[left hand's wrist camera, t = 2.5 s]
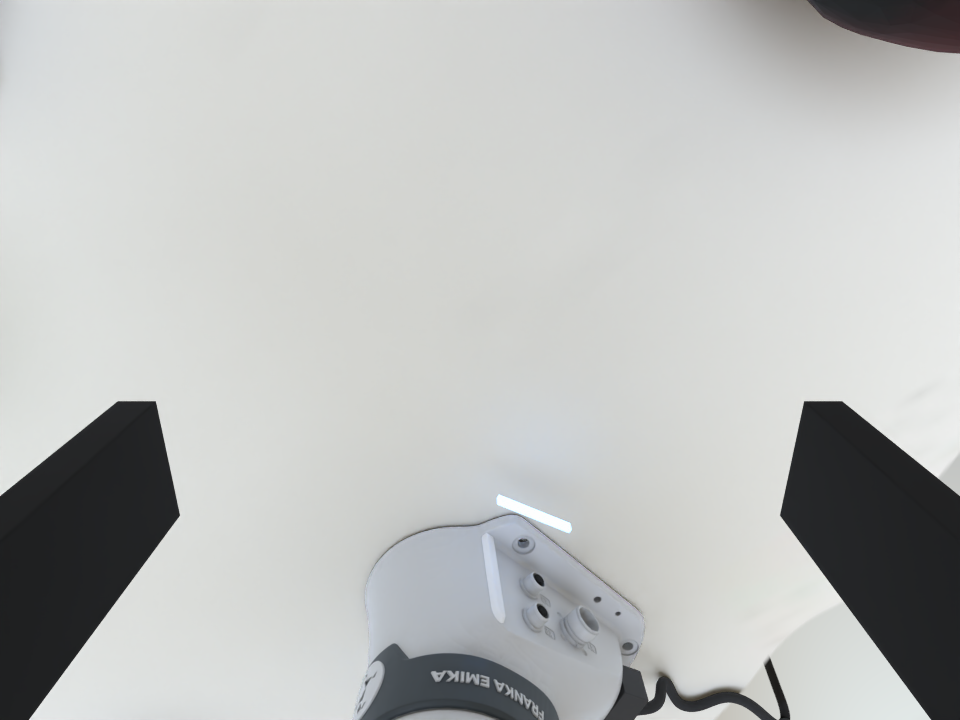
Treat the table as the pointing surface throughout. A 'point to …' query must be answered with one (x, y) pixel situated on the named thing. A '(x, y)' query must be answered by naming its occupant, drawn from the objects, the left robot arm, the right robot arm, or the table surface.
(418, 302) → the table surface
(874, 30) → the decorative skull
